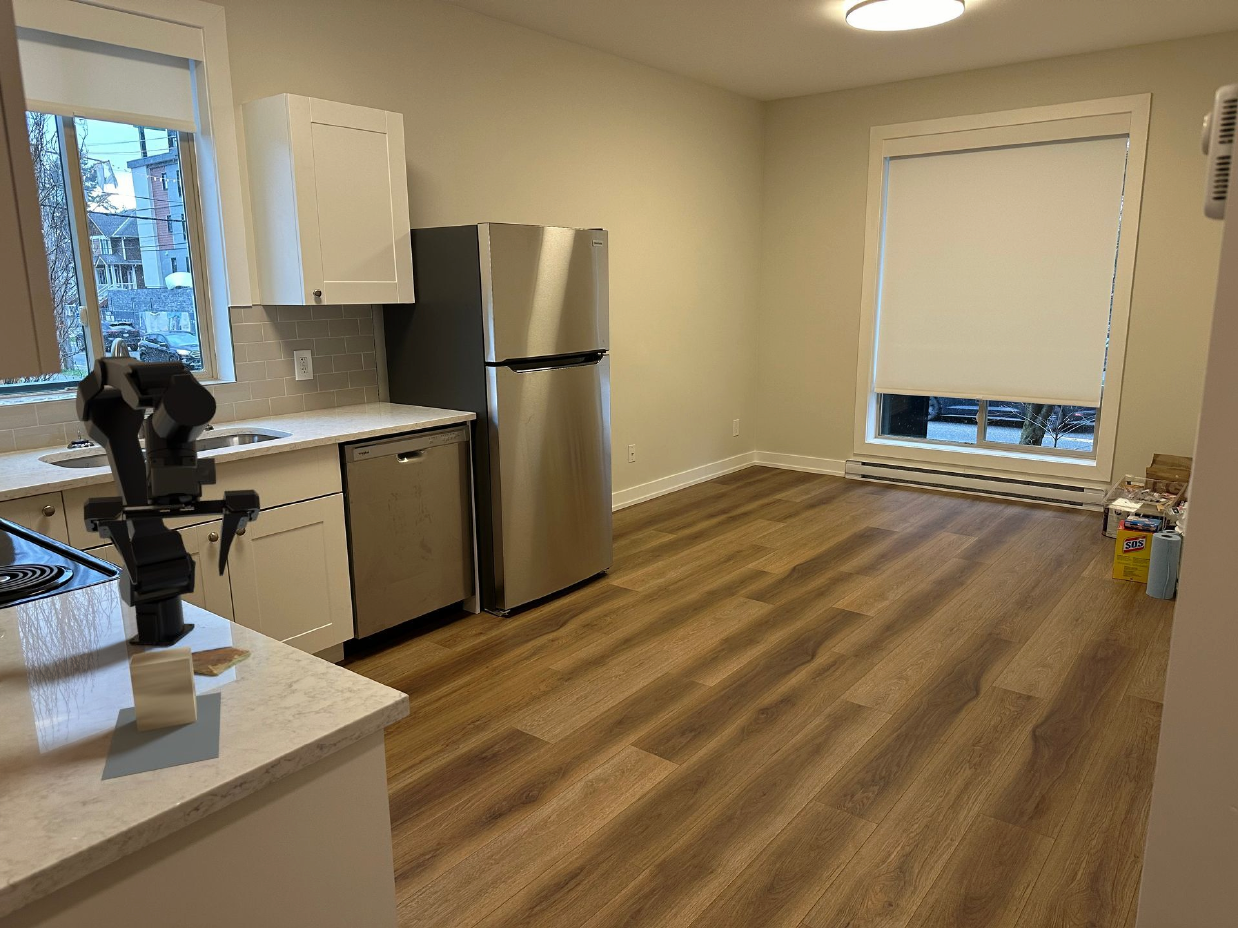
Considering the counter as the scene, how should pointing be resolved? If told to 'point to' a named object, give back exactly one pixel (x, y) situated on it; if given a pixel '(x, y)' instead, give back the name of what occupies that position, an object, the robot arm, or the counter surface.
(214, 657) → the shard
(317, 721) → the counter surface
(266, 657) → the counter surface
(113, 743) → the rubber mat
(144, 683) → the beige block
